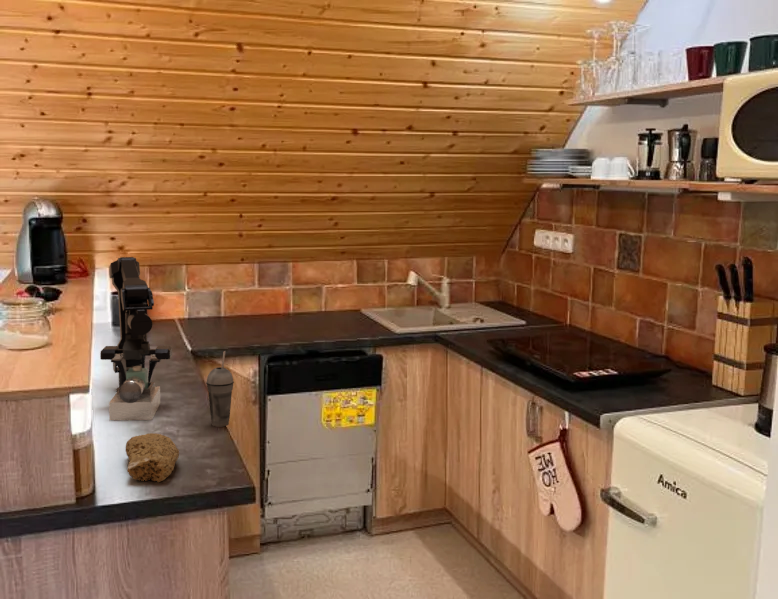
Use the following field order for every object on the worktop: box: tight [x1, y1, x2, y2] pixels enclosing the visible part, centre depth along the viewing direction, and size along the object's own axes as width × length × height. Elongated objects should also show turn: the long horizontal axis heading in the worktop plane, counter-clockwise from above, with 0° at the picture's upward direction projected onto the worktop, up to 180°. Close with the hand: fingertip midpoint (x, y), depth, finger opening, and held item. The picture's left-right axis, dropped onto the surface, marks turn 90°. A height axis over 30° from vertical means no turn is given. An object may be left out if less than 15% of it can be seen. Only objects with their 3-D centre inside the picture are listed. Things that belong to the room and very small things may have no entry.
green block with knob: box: [126, 366, 149, 389], centre depth 216 cm, size 5×5×7 cm
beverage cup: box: [205, 350, 235, 428], centre depth 204 cm, size 7×7×20 cm
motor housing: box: [108, 376, 161, 421], centre depth 213 cm, size 16×11×11 cm
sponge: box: [125, 432, 180, 483], centre depth 173 cm, size 13×8×20 cm
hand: (137, 382), depth 217 cm, fingers open, 6 cm apart
